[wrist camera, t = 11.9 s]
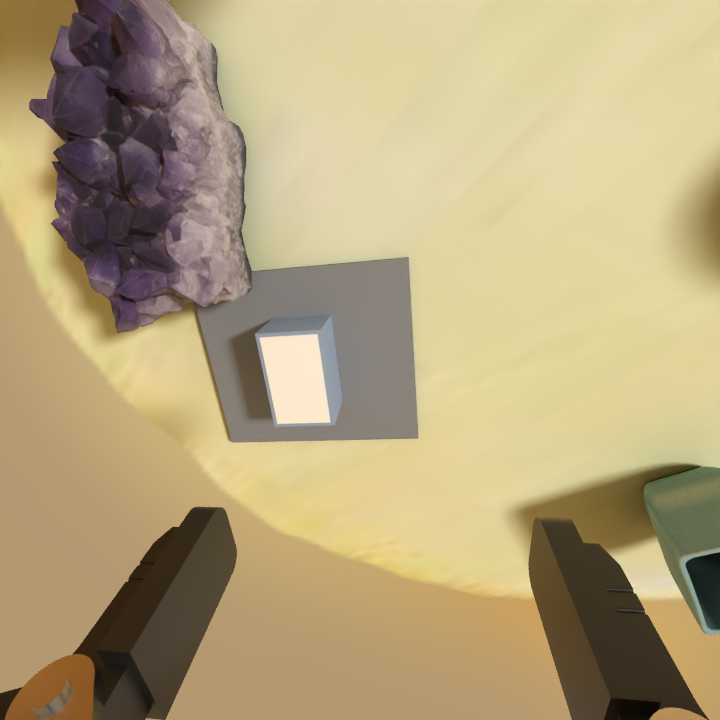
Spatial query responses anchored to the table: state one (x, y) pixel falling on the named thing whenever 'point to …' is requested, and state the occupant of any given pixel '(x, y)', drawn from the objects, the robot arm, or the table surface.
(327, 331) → the card box
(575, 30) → the table surface
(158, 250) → the geode
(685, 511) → the flower pot
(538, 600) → the robot arm
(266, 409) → the rubber mat
